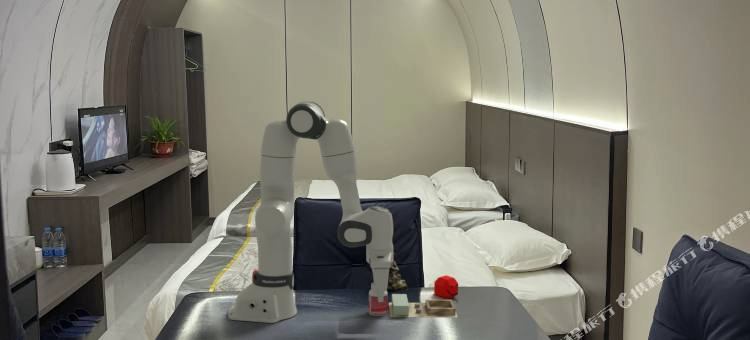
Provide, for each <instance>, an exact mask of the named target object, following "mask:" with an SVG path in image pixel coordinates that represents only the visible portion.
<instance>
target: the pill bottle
mask: <svg viewBox="0 0 750 340" xmlns="http://www.w3.org/2000/svg"><path fill="white" fill-rule="evenodd" d="M370 288H371V289H370V290H369V291H368V314H369V315H370V316H374V317H380V316H386V315H387V314H388V290H386V292H384V297H383V302H378V293H377V292H376V291H375V286H374V281H373V282H371V284H370Z"/></svg>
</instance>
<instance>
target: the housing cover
mask: <svg viewBox="0 0 750 340" xmlns="http://www.w3.org/2000/svg"><path fill="white" fill-rule="evenodd" d="M407 296H408V295H407V294H406V293H402V294H401V293H392V294H391V303H392V305H393V315H409V304H408V303H409V300H408V297H407Z"/></svg>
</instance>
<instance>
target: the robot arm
mask: <svg viewBox="0 0 750 340" xmlns="http://www.w3.org/2000/svg"><path fill="white" fill-rule="evenodd" d="M300 138H302V139H309V140H315V141H317V143H318V145H319V149H320V155H321V160H322V161H321V162H322V164H323V168H324V171H325V173H326V176H327V177H328V179H330V180H331V181H332V182H333V183H334V184H335V185H336V187H337V189H338V194H339V198H340V204H341V209H342V217H341V221H340V223H339V225H338V228H337V231H336V234H337V235H336V237H337V239H338V240H339V242H340V244H341V245H343V246H344V247H346V248H358V247H364V246H366V250H365V251H366V253H365V254H366V256H365V257H366V259H365V260H366V262H367V263H368V264H369V266H370V268H371V270H372V271H371V272H372V277H373V282H374V286H375V291H376V292H377V293H378V302H383V297H384V292H386V291H388V290H387V285H388V274H389V268H390V267H391V263H392V262H393V252H394V244H393V235H394V221H393V215H392V213H391V211H390V210H389V209H388V208H386V207H383V206H379V205H371V206H368V207H367V209H365V210H363V207H362V204H361V199H360V196H359V190H358V185H357V174H358V172H357V171H358V161H357V152H356V148H355V142H354V138H353V135H352V133H351V130H350V127H349V124H348V123H347V122H346V121H345V120H343V119H340V118H331V119H330V118H327V117H326V115H325V111H324V110H323V108H322V107H321V106H320V105H319V104H318V103H316V102H313V101H301V102H298V103H297V104H295V105H293V106H292V107H291V108H290V109H289V111H288V112H287V115H286V118H285V120H274V121H271V122H269V123H267V125H266V126H265V129H264V132H263V137H262V142H261V149H260V164H259V165H260V167H259V181H260V205H259V207H258V208H257V209H256V211H255V215H254V222H255V234H256V235H255V236H256V243H257V244H256V245H257V259H258V261H257V264H258V265H257V267H258V269H253V271H252V276H251V283H250V284H249V285H247V286H246V287H245V288H243V289H242V290H241V291H240V292H239V293H238V294H237V296H236V297H235V302H234V305H231V307H230V308H229V310H228V311H227V318H228V319H229V320H231V321H232V320H233V321H245V322H255V323H266V324H267V323H269V324H273V323H274V324H275V323H277V322H279V321H282V320H287V319H289V318H292V317H294V316H296V315H297V313H298V309H297V307H296V303H295V295H294V286H295V283H294V282H295V279H294V278H295V277H294V276H295V275H294V271H293V246H292V245H293V244H292V235H291V221H292V219H293V216H294V212H295V172H296V171H295V170H296V152H297V143H298V141H299V139H300Z"/></svg>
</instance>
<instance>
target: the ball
mask: <svg viewBox="0 0 750 340" xmlns="http://www.w3.org/2000/svg"><path fill="white" fill-rule="evenodd" d="M455 278H456V277H453V276H450V275H443V276H439V277H437V279H435V280H434V282H433V285H434V286H433V291H434V295H435V296H436V297H437V296H438V297H439V298H442V299H450V298H455V297H457V296H458V294H459V282H458V281H457V280H456V279H455Z"/></svg>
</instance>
